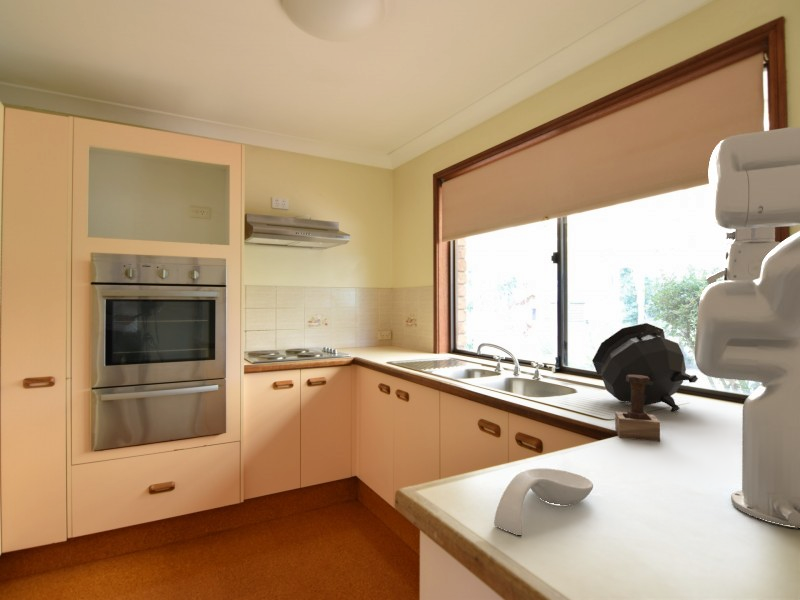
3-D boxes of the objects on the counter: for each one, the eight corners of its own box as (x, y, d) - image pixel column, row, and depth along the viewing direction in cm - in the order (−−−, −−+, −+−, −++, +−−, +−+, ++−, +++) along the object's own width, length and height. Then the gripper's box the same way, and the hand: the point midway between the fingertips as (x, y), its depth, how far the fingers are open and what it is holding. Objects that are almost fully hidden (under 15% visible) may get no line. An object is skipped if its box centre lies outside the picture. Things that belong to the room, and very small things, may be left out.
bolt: (650, 435, 118) (651, 378, 118) (629, 433, 119) (630, 377, 119) (644, 429, 123) (644, 374, 123) (624, 427, 124) (624, 373, 125)
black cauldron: (612, 402, 139) (575, 348, 158) (640, 436, 155) (603, 383, 174) (697, 353, 132) (647, 303, 151) (718, 395, 147) (670, 344, 167)
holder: (659, 441, 116) (660, 422, 116) (619, 437, 119) (619, 418, 119) (653, 432, 124) (653, 414, 124) (615, 429, 127) (615, 411, 127)
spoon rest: (541, 480, 90) (542, 444, 90) (602, 498, 82) (603, 459, 82) (475, 521, 73) (476, 477, 73) (544, 550, 65) (545, 500, 65)
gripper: (712, 236, 98) (711, 314, 98) (810, 233, 93) (810, 316, 92) (701, 240, 105) (701, 313, 105) (792, 238, 100) (792, 315, 100)
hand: (752, 314), depth 99 cm, fingers open, 9 cm apart
